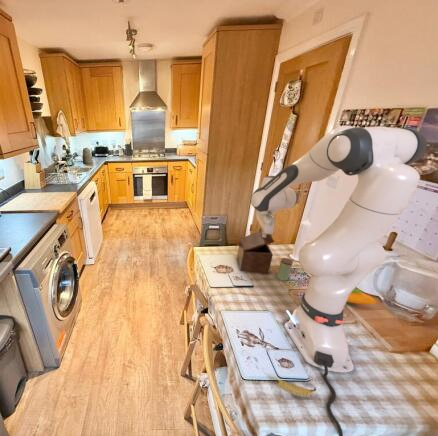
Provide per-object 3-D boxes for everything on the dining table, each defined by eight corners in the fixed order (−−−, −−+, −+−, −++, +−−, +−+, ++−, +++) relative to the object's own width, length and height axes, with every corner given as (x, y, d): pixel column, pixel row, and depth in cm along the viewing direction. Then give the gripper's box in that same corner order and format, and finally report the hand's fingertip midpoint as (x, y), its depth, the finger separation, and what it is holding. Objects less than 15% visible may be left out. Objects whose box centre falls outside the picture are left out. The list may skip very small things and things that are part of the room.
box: (262, 260, 129) (266, 241, 124) (268, 273, 118) (272, 254, 113) (237, 257, 132) (239, 239, 127) (240, 270, 121) (243, 251, 116)
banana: (276, 393, 68) (279, 384, 66) (274, 384, 70) (276, 376, 68) (314, 401, 65) (318, 393, 64) (311, 392, 68) (315, 384, 66)
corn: (319, 275, 104) (376, 287, 96) (314, 288, 107) (369, 300, 100) (322, 287, 98) (384, 300, 90) (317, 299, 101) (376, 313, 94)
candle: (306, 261, 127) (319, 220, 117) (293, 261, 127) (305, 220, 117) (299, 254, 134) (310, 215, 123) (286, 254, 134) (297, 215, 124)
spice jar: (289, 281, 113) (294, 264, 108) (278, 279, 114) (282, 263, 109) (286, 274, 117) (290, 258, 113) (275, 273, 118) (279, 257, 114)
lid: (267, 230, 122) (264, 222, 120) (274, 241, 110) (270, 233, 109) (240, 239, 127) (236, 232, 126) (244, 251, 116) (240, 243, 115)
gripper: (280, 217, 101) (274, 244, 107) (268, 201, 119) (264, 225, 125) (265, 216, 103) (259, 243, 108) (255, 201, 121) (251, 225, 126)
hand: (262, 233), depth 117 cm, fingers closed on lid, 5 cm apart
